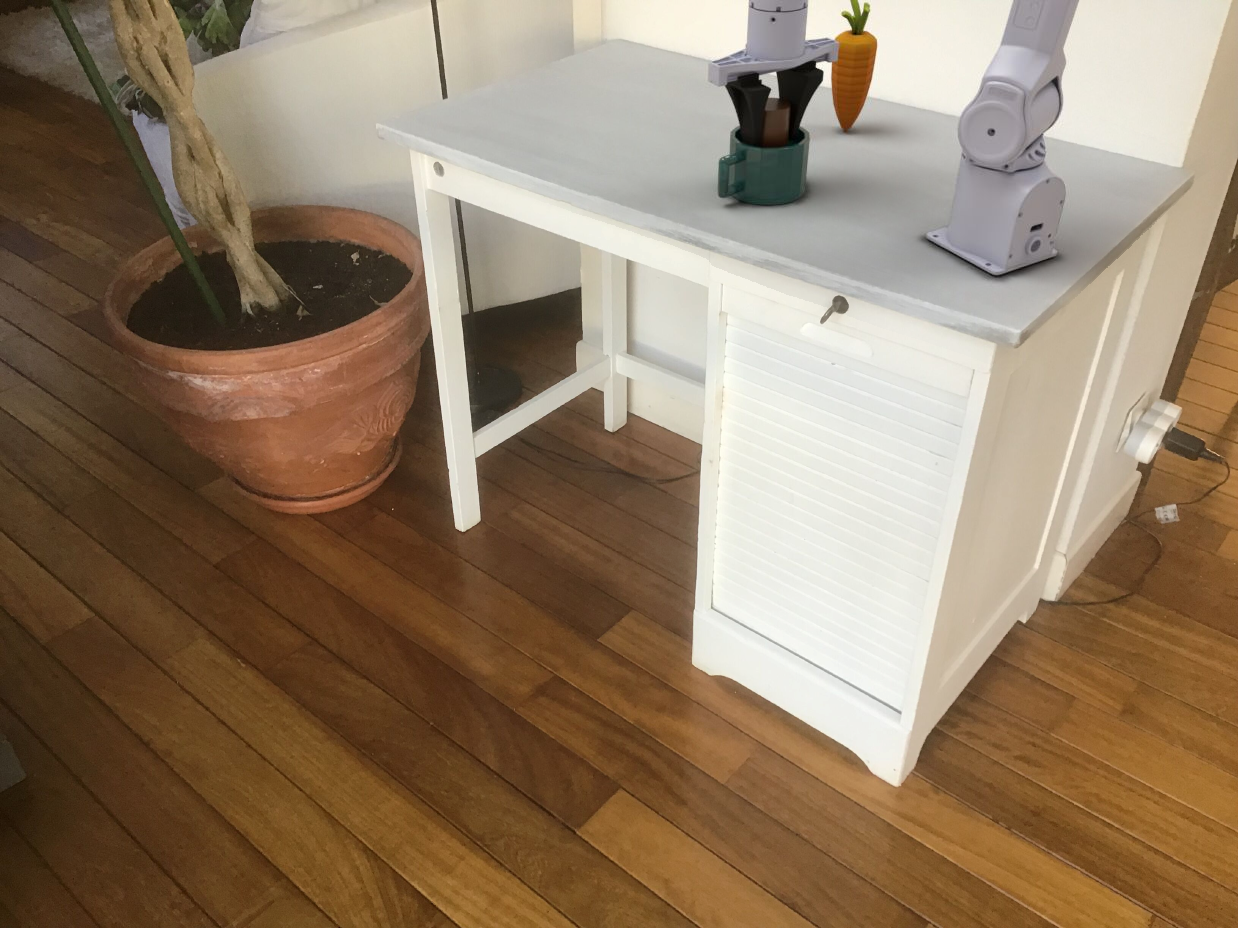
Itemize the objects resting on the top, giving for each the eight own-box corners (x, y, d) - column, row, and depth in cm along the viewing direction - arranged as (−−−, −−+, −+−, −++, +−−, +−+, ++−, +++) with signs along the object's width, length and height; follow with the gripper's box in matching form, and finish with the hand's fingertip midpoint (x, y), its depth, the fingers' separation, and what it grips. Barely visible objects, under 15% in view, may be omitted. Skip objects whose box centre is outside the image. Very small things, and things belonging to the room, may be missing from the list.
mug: (766, 168, 115) (769, 115, 111) (820, 190, 110) (826, 135, 106) (692, 196, 110) (693, 141, 106) (746, 220, 104) (749, 163, 101)
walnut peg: (794, 163, 108) (798, 106, 104) (762, 171, 106) (766, 113, 103) (771, 150, 111) (775, 95, 107) (741, 158, 109) (743, 102, 105)
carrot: (866, 139, 121) (882, 5, 112) (823, 137, 122) (836, 4, 112) (866, 124, 125) (883, -7, 115) (825, 123, 125) (838, -8, 116)
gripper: (813, -15, 104) (802, 117, 113) (692, 7, 99) (690, 144, 107) (857, 0, 99) (842, 137, 108) (733, 24, 94) (727, 166, 102)
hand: (769, 142), depth 107 cm, fingers closed on walnut peg, 4 cm apart
